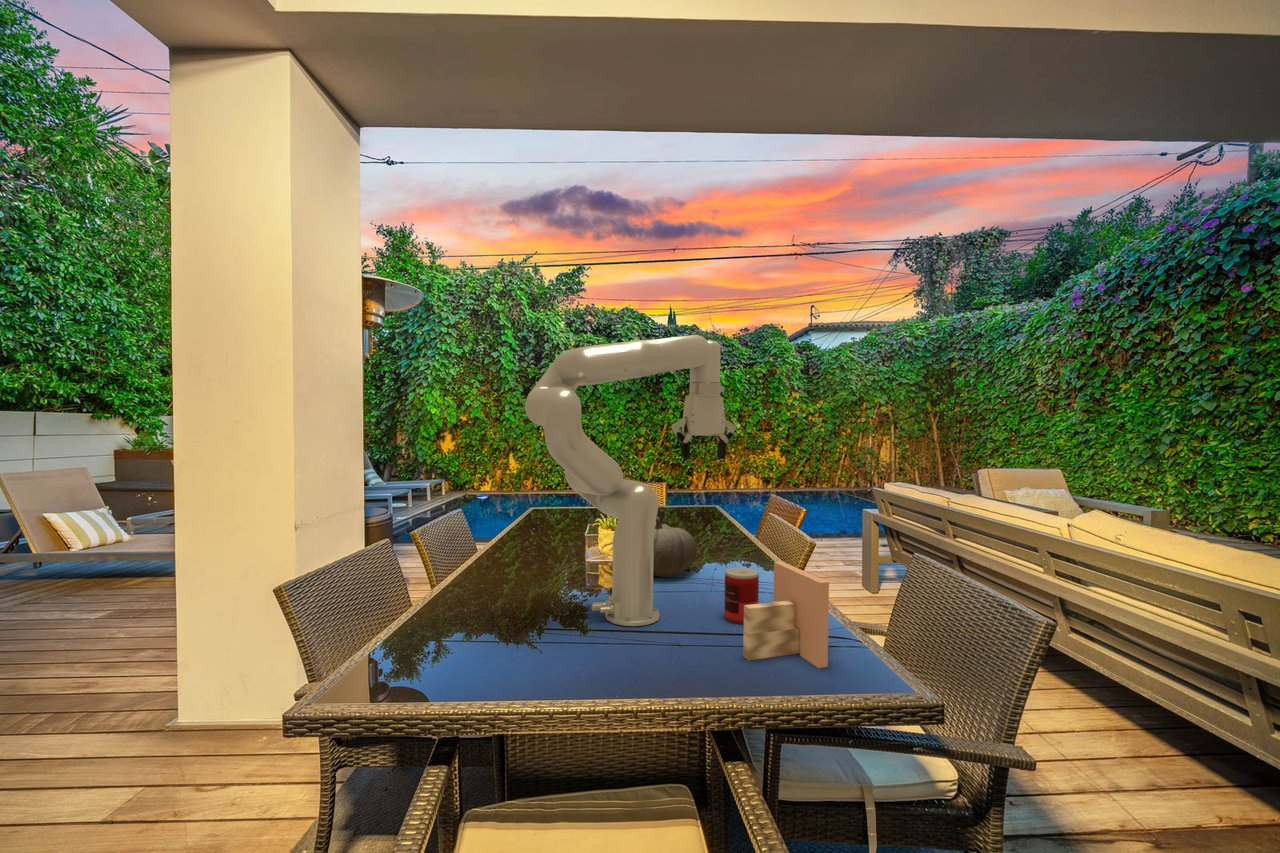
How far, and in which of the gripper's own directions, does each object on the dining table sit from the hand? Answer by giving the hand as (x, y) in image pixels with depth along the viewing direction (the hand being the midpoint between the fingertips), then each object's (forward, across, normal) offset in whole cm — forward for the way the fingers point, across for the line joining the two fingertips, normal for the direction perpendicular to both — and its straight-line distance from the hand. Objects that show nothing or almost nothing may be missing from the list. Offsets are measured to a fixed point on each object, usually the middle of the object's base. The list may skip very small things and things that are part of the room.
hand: (703, 458), depth 143 cm
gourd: (+37, +1, -31) cm, 48 cm away
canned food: (+36, -4, +13) cm, 39 cm away
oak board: (+36, -3, +33) cm, 49 cm away
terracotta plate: (+36, -6, +33) cm, 49 cm away
